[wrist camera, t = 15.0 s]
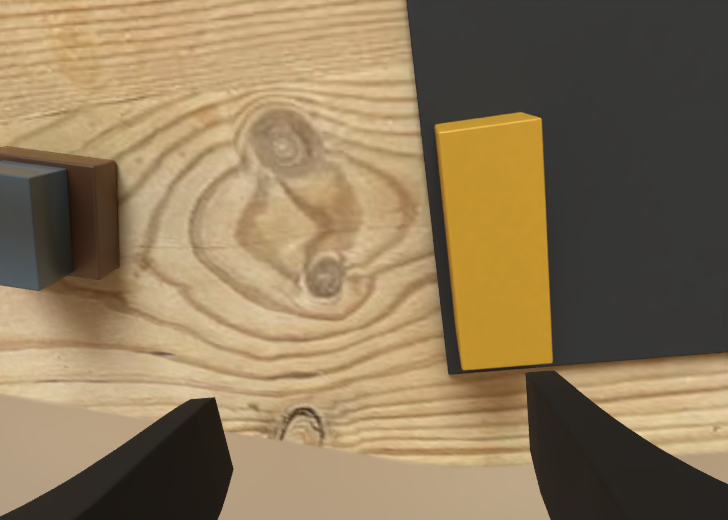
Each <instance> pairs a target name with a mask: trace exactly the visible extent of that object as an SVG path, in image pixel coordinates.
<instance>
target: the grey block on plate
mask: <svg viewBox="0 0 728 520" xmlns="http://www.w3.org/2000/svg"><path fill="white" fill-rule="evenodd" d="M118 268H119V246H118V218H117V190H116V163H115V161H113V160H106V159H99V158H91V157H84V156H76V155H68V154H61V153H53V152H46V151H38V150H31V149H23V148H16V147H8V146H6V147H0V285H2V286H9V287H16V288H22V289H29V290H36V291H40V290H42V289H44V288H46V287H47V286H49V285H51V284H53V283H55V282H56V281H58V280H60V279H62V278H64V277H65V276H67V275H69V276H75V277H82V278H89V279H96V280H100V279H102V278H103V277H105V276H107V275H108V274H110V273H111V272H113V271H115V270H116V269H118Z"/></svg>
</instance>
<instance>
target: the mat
mask: <svg viewBox="0 0 728 520" xmlns="http://www.w3.org/2000/svg"><path fill="white" fill-rule="evenodd" d="M407 9H408V18H409V27H410V36H411V45H412V54H413V63H414V72H415V81H416V89H417V98H418V107H419V116H420V125H421V134H422V143H423V152H424V161H425V170H426V179H427V188H428V196H429V205H430V214H431V223H432V232H433V241H434V250H435V259H436V268H437V277H438V286H439V295H440V304H441V312H442V321H443V330H444V339H445V348H446V357H447V366H448V374H462V373H475V372H487V371H499V370H512V369H524V368H536V367H549V366H561V365H573V364H586V363H598V362H610V361H623V360H635V359H647V358H660V357H672V356H684V355H697V354H709V353H721V352H728V0H407ZM518 112H522V113H526V114H529V115H532V116H536V117H539V118H541V119H542V133H543V155H544V177H545V199H546V221H547V243H548V265H549V287H550V309H551V332H552V354H553V362H552V363H550V364H538V365H526V366H513V367H501V368H489V369H477V370H462V367H461V361H460V354H459V348H458V342H457V335H456V328H455V318H454V309H453V299H452V290H451V280H450V270H449V261H448V251H447V242H446V232H445V222H444V213H443V203H442V194H441V184H440V175H439V165H438V155H437V146H436V136H435V125H436V124H442V123H448V122H455V121H462V120H469V119H476V118H483V117H490V116H497V115H504V114H511V113H518Z"/></svg>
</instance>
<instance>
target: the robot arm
mask: <svg viewBox="0 0 728 520" xmlns="http://www.w3.org/2000/svg"><path fill="white" fill-rule="evenodd" d="M526 390H527V406H528V423H529V440H530V452H531V456H532V460H533V465H534V469H535V473H536V476H537V480H538V485H539V489H540V492H541V495H542V498H543V501H544V503H545V506H546V509H547V511H548V514H549V517H550V519H551V520H728V484H726V483H724V482H722V481H720V480H718V479H716V478H713V477H712V476H710V475H708V474H706V473H704V472H702V471H700V470H698V469H696V468H694V467H692V466H690V465H688V464H687V463H685V462H683V461H681V460H679V459H678V458H676V457H674V456H672V455H670V454H668V453H667V452H665V451H663V450H662V449H660V448H658V447H657V446H655V445H653V444H652V443H650V442H649V441H647V440H646V439H644V438H642V437H641V436H639V435H638V434H636V433H635V432H633V431H632V430H630V429H629V428H627V427H626V426H624V425H623V424H622V423H620V422H619V421H617V420H616V419H615V418H613V417H612V416H610V415H609V414H608V413H606V412H605V411H604V410H602V409H601V408H600V407H598V406H597V405H596V404H595V403H593V402H592V401H591V400H590V399H588V398H587V397H586V396H585V395H583V394H582V393H581V392H580V391H579V390H577V389H576V388H575V387H574V386H573V385H571V384H570V383H569V382H568V381H566V380H565V379H564V378H563V377H562V376H560V375H559V374H558V373H557V372H555V371H554V370H553V371H540V372H527V373H526ZM232 472H233V465H232V462H231V458H230V454H229V450H228V446H227V442H226V438H225V434H224V431H223V427H222V423H221V419H220V415H219V411H218V407H217V404H216V400H215V397H213V398H201V399H190V400H189V401H187V402H185V403H183V404H181V405H180V406H178V407H177V408H175V409H174V410H172V411H171V412H169V413H168V414H166V415H165V416H163V417H162V418H160V419H159V420H157V421H156V422H155V423H153V424H152V425H150V426H149V427H147V428H146V429H145V430H143V431H142V432H140V433H139V434H137V435H136V436H135V437H133V438H132V439H130V440H129V441H127V442H126V443H125V444H123V445H122V446H120V447H119V448H117V449H116V450H114V451H113V452H111V453H110V454H108V455H107V456H105V457H103V458H102V459H101V460H99V461H97V462H96V463H94V464H93V465H91V466H90V467H88V468H87V469H85V470H84V471H82V472H81V473H79V474H77V475H76V476H75V477H72V478H71V479H69V480H68V481H66V482H64V483H62V484H61V485H59V486H57V487H56V488H54V489H52V490H50V491H48V492H47V493H45V494H43V495H41V496H39V497H38V498H36V499H34V500H32V501H31V502H29V503H27V504H25V505H23V506H21V507H19V508H17V509H15V510H13V511H11V512H9V513H6V514H5V515H2V516H0V520H218V517H219V515H220V512H221V510H222V507H223V504H224V501H225V498H226V494H227V491H228V487H229V484H230V480H231V476H232Z"/></svg>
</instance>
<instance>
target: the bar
mask: <svg viewBox="0 0 728 520" xmlns="http://www.w3.org/2000/svg"><path fill="white" fill-rule="evenodd" d="M435 136H436V146H437V155H438V165H439V175H440V184H441V194H442V203H443V213H444V222H445V232H446V242H447V251H448V261H449V270H450V280H451V290H452V299H453V309H454V318H455V328H456V335H457V342H458V348H459V354H460V361H461V367H462V370H477V369H489V368H501V367H513V366H526V365H538V364H550V363H552V362H553V354H552V332H551V309H550V287H549V265H548V243H547V221H546V199H545V177H544V155H543V133H542V119H541V118H539V117H536V116H532V115H529V114H526V113H522V112H518V113H511V114H504V115H497V116H490V117H483V118H476V119H469V120H462V121H455V122H448V123H442V124H436V125H435Z"/></svg>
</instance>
